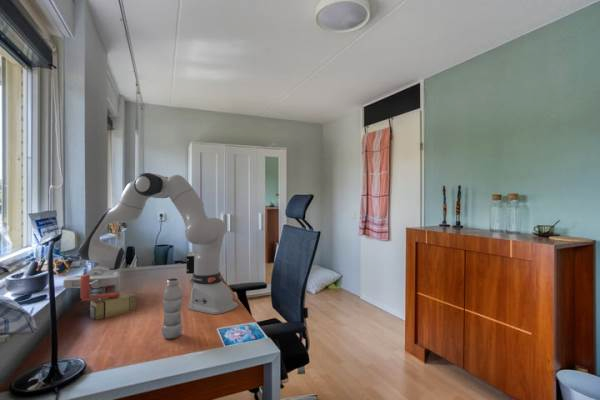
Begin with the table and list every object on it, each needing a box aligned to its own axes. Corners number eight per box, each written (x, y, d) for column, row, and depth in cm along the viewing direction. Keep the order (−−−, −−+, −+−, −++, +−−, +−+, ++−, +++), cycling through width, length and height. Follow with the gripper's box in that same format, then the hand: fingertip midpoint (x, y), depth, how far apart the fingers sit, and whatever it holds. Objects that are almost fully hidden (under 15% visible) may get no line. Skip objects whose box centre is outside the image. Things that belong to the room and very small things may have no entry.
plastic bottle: (175, 331, 113) (176, 276, 113) (185, 336, 108) (186, 279, 108) (158, 337, 108) (158, 279, 108) (168, 343, 103) (168, 283, 103)
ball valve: (202, 285, 171) (202, 253, 171) (185, 286, 169) (186, 254, 169) (203, 277, 188) (204, 248, 188) (188, 278, 186) (189, 248, 186)
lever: (118, 293, 133) (118, 270, 133) (120, 296, 130) (120, 272, 130) (80, 299, 124) (80, 274, 124) (80, 302, 121) (80, 277, 121)
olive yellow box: (129, 305, 139) (130, 290, 139) (137, 309, 134) (137, 294, 134) (88, 315, 126) (88, 299, 126) (95, 320, 121) (95, 303, 121)
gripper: (70, 271, 135) (56, 279, 122) (123, 268, 141) (115, 276, 128) (70, 285, 135) (56, 295, 122) (123, 282, 141) (115, 291, 128)
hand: (87, 285), depth 125 cm, fingers closed
